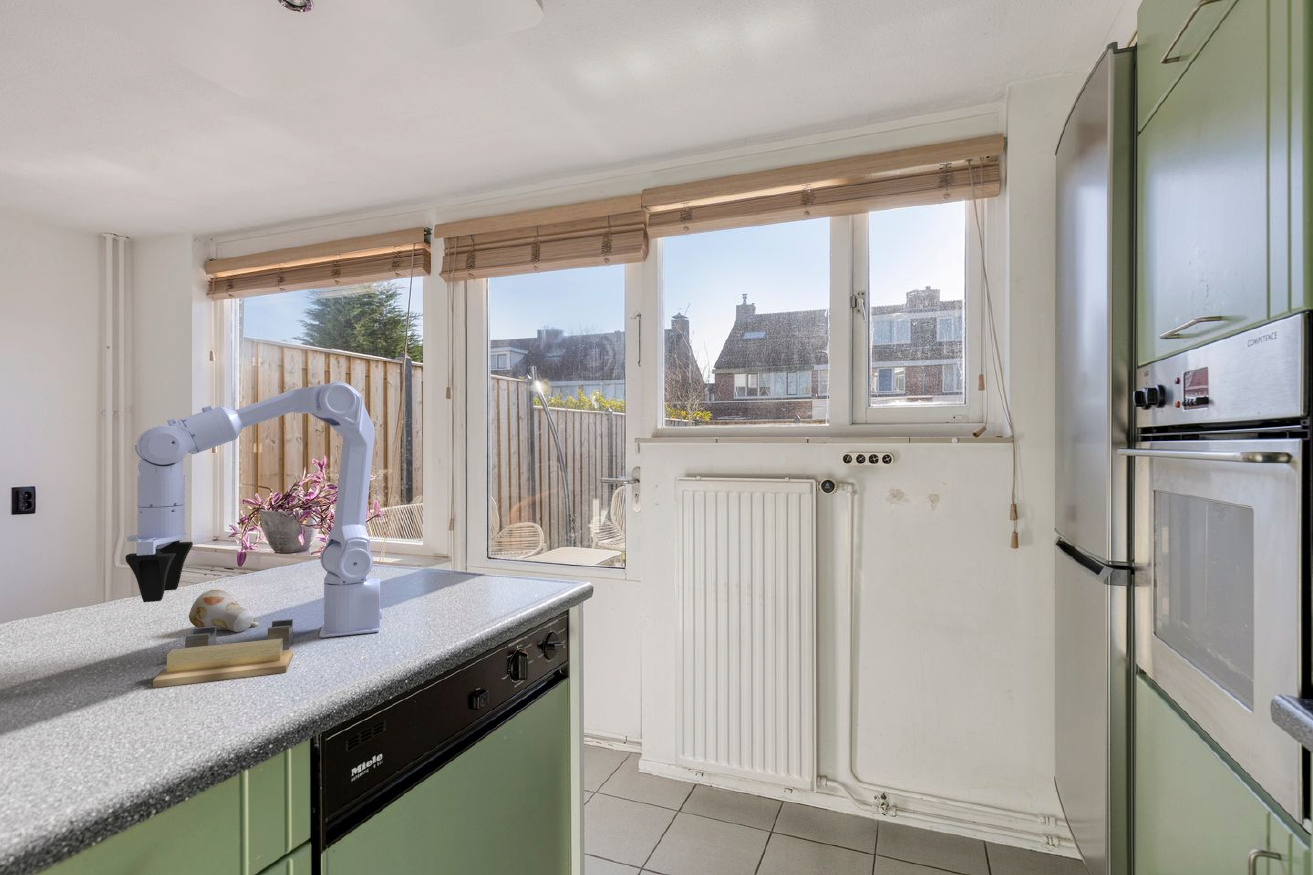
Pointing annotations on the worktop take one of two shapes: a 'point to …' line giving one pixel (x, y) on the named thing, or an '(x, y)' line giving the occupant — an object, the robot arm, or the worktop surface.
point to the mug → (220, 612)
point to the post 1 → (201, 637)
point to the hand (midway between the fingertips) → (160, 595)
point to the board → (223, 672)
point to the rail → (224, 655)
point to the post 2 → (282, 632)
